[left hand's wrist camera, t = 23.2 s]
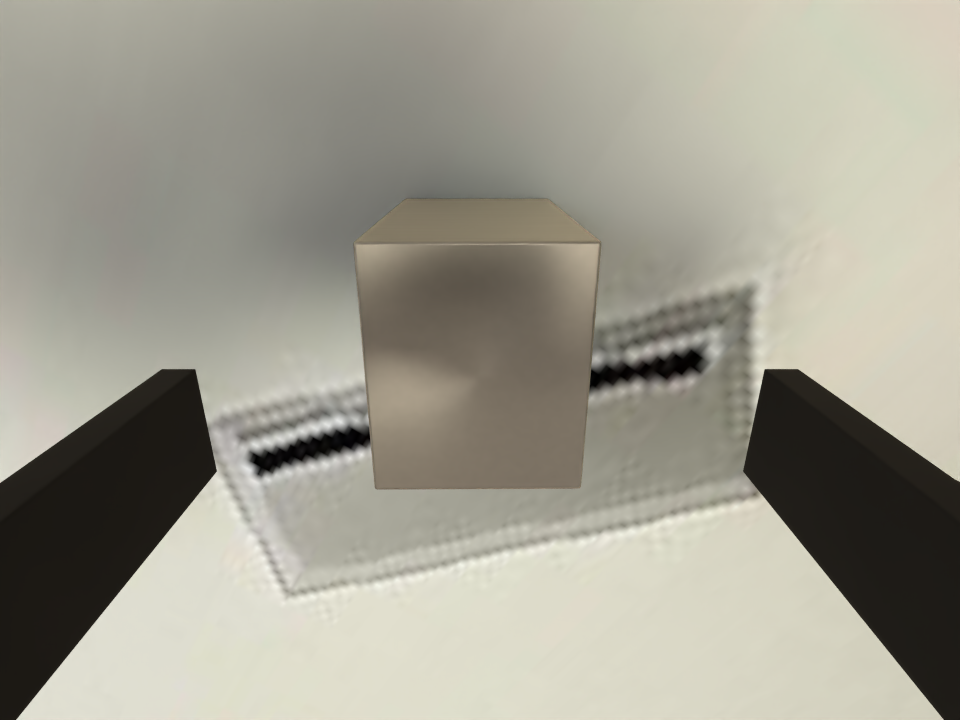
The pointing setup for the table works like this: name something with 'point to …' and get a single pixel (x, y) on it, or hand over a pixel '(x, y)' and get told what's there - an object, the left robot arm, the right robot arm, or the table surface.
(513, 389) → the brick
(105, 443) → the left robot arm
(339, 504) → the table surface
